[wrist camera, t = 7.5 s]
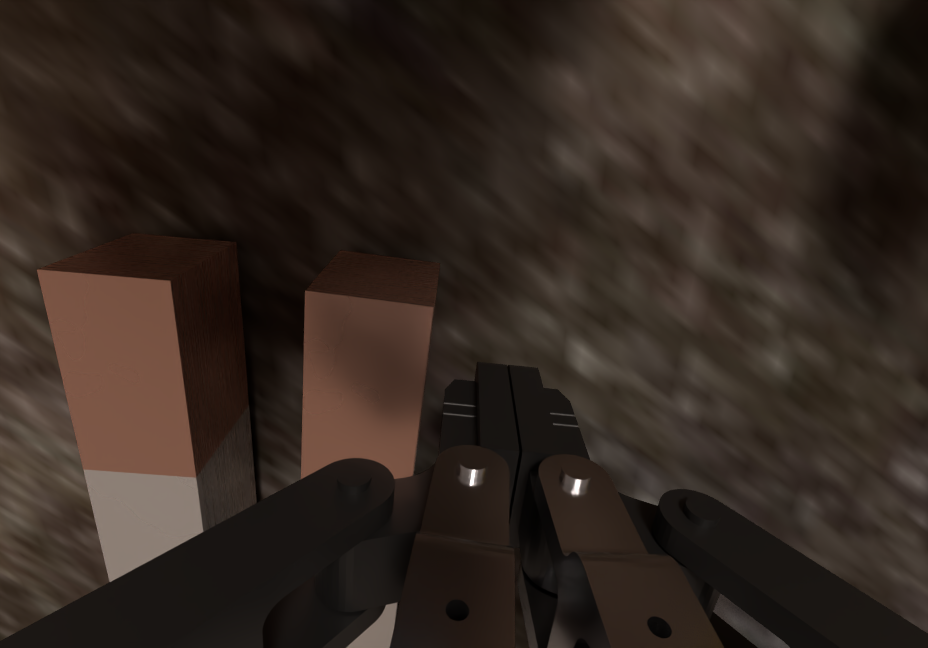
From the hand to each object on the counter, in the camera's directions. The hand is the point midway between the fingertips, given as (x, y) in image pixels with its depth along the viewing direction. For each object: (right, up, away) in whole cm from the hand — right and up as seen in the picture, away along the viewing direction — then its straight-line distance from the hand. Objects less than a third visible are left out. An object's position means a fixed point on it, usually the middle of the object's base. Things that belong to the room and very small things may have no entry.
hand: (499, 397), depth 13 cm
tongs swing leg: (-4, -6, +4) cm, 8 cm away
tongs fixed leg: (-6, -7, +4) cm, 11 cm away
